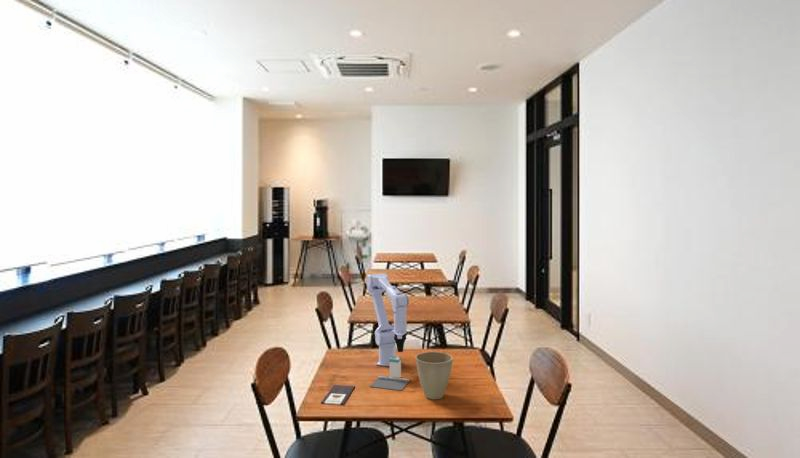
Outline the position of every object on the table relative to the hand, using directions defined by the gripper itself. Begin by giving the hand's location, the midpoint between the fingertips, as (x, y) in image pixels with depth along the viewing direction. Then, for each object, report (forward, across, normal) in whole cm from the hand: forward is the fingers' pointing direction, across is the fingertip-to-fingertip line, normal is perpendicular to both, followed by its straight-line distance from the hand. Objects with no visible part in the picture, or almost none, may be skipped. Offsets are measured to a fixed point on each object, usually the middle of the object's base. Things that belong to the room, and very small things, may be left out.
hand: (400, 350), depth 222 cm
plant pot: (+11, +25, +14) cm, 31 cm away
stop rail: (+11, +9, -3) cm, 14 cm away
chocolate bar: (+11, +26, -24) cm, 37 cm away
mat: (+11, +14, -4) cm, 18 cm away
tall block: (+10, +6, -2) cm, 12 cm away
